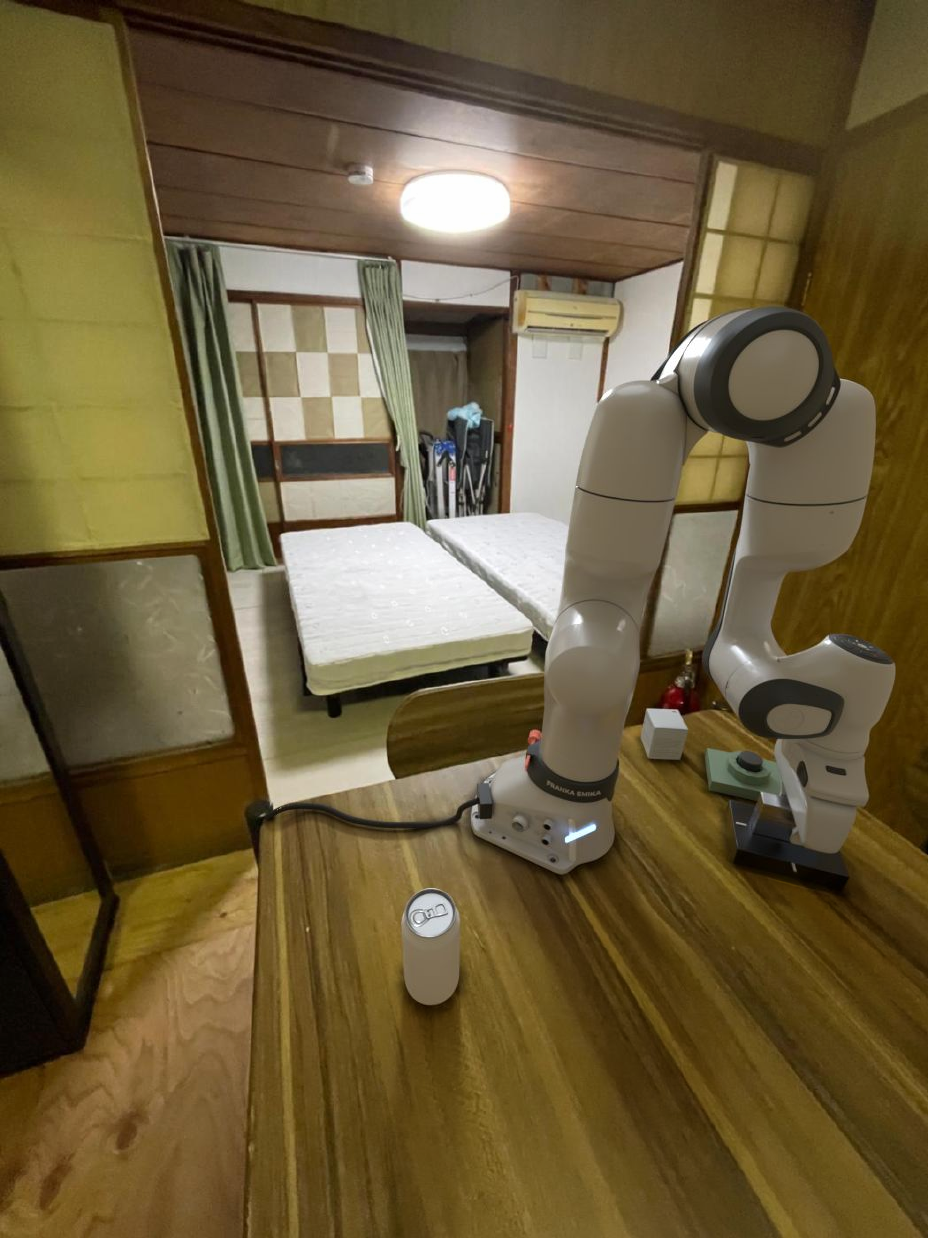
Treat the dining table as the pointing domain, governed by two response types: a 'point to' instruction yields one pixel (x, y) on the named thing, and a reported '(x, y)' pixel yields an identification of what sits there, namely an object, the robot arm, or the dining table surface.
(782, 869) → the base
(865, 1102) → the dining table surface
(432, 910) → the can
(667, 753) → the product box
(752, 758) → the button
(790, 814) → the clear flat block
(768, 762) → the button block
